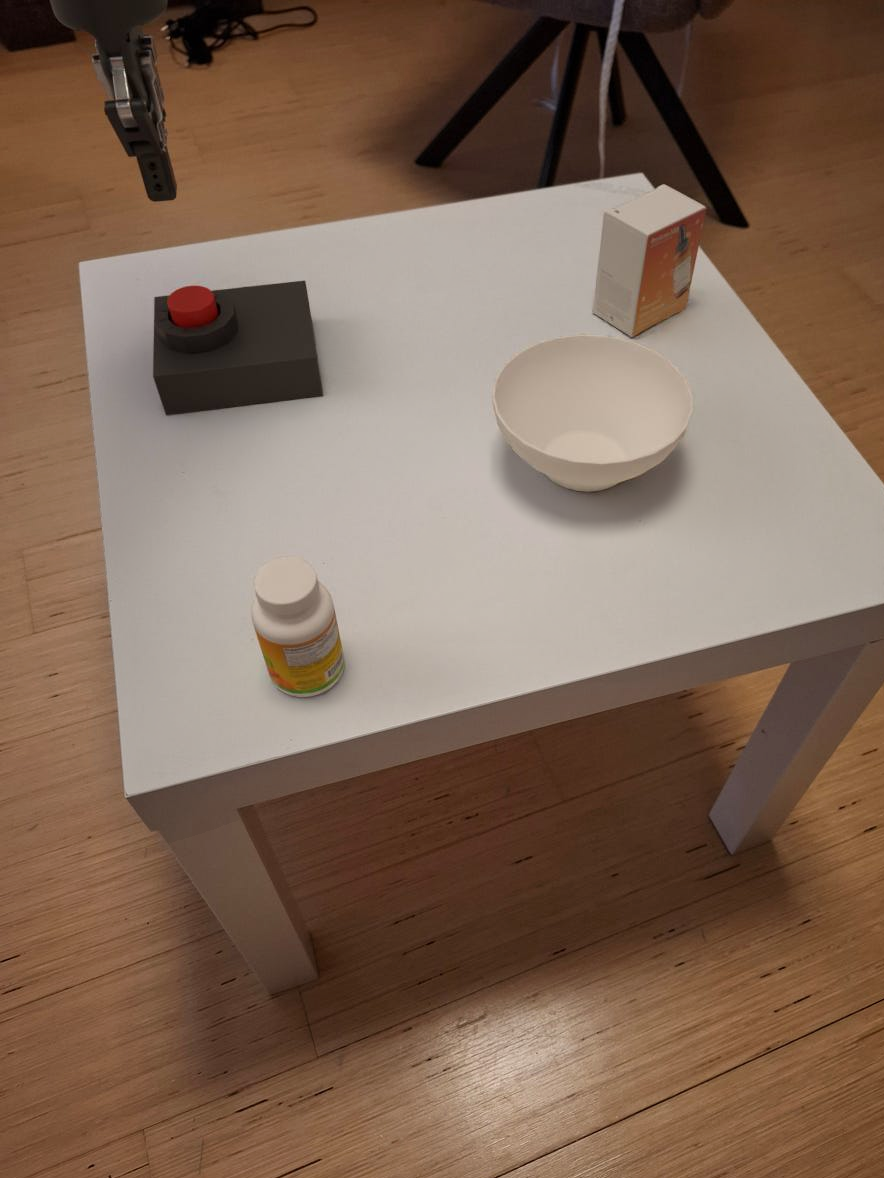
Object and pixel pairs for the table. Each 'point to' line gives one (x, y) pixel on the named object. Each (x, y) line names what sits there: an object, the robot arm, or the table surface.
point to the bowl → (591, 409)
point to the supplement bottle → (296, 627)
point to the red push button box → (238, 351)
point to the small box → (647, 259)
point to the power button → (192, 306)
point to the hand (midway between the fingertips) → (163, 196)
